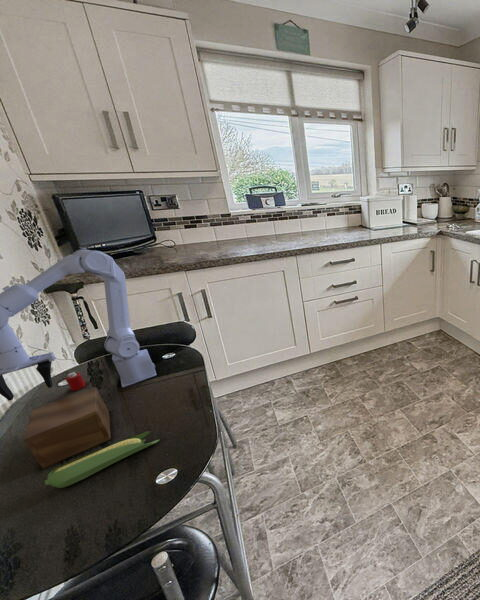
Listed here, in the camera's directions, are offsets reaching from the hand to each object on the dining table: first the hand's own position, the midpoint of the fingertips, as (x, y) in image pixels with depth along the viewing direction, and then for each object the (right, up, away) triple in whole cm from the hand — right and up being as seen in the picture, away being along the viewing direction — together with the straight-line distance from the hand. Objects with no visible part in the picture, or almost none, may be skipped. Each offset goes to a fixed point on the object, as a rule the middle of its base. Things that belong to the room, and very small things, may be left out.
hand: (31, 392), depth 90 cm
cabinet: (+18, -11, -4) cm, 21 cm away
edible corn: (+34, -13, -14) cm, 39 cm away
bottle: (-5, -4, +18) cm, 19 cm away
